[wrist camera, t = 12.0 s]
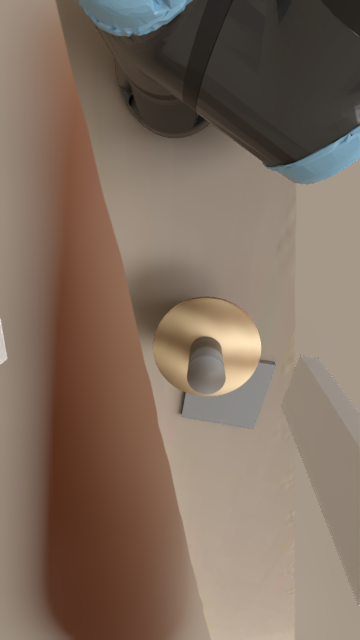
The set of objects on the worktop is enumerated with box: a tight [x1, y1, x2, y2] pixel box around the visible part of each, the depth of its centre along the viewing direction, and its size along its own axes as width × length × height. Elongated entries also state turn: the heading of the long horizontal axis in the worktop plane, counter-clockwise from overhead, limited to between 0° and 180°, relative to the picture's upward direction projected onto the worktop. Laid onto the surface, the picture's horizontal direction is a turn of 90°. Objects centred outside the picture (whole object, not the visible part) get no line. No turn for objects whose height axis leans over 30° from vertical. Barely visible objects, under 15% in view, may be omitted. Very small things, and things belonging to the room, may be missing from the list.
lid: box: [153, 297, 261, 396], centre depth 33 cm, size 15×15×8 cm
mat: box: [182, 360, 276, 429], centre depth 54 cm, size 17×16×1 cm
